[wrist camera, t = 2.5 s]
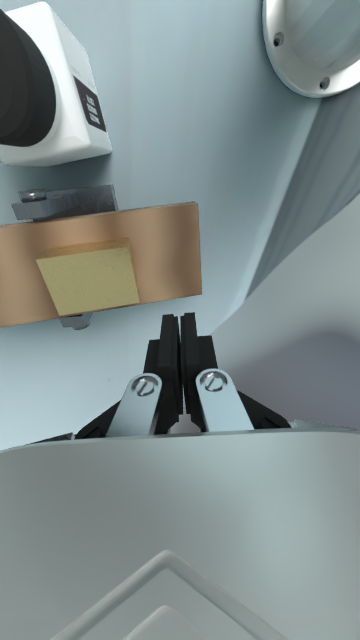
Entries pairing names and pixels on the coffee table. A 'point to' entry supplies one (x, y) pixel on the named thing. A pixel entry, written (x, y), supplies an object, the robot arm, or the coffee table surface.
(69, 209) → the stand
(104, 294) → the slider
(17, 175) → the coffee table surface
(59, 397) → the coffee table surface
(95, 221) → the beam
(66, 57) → the container
